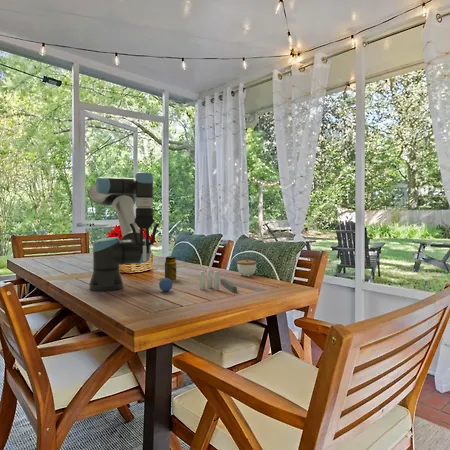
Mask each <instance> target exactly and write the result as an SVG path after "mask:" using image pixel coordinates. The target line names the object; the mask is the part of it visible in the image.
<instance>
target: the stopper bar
mask: <svg viewBox="0 0 450 450" xmlns="http://www.w3.org/2000/svg"><path fill="white" fill-rule="evenodd" d="M220 285H222V286H223V288H226V289H227V290H228V291H230V293H231V294H233V293H234V294H235V293H238V287H237V286H236V285H234V283H232V282H230V281H229V280H227V279H225V278H220Z"/></svg>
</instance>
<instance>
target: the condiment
mask: <svg viewBox="0 0 450 450" xmlns="http://www.w3.org/2000/svg"><path fill="white" fill-rule="evenodd" d="M164 261H165V262H164V277H163V278H162V277H161V278H160V277H159V280H160V281H161V280H162V279H164V278H168V279H170V280H171V281H172V282H173V281H179V280H180V279H179V278H177V259H176V256H170V255H169V256H166V257H165V260H164Z"/></svg>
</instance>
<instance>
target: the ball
mask: <svg viewBox="0 0 450 450" xmlns="http://www.w3.org/2000/svg"><path fill="white" fill-rule="evenodd" d="M163 278H164V279H162V280H160V281H159V283H158V285H159V289H160V290H161V291H162V292H169V291H171V289H172V288H173V285H174V284H173V281H171V280H170V279H168V278H165V277H163Z"/></svg>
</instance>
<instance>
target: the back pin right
mask: <svg viewBox="0 0 450 450" xmlns="http://www.w3.org/2000/svg"><path fill="white" fill-rule="evenodd" d="M213 290H214V291H220V271H218V270H215V271H213Z"/></svg>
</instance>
